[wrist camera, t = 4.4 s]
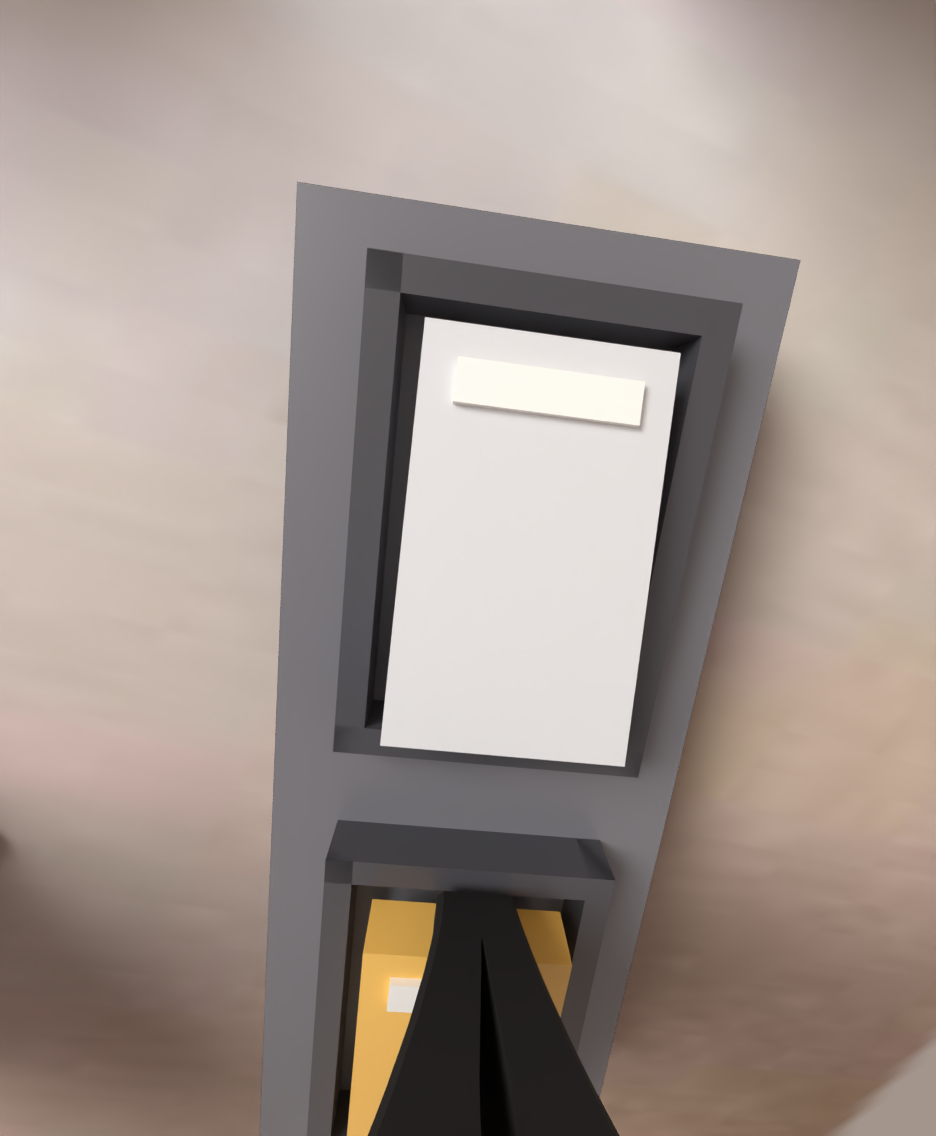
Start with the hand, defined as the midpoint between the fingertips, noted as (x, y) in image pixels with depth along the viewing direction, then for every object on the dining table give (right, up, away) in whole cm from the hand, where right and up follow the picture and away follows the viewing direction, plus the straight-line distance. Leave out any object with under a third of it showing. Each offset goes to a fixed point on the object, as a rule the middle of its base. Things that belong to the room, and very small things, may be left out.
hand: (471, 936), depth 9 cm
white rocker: (+1, +7, -2) cm, 7 cm away
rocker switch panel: (0, +3, +4) cm, 5 cm away
